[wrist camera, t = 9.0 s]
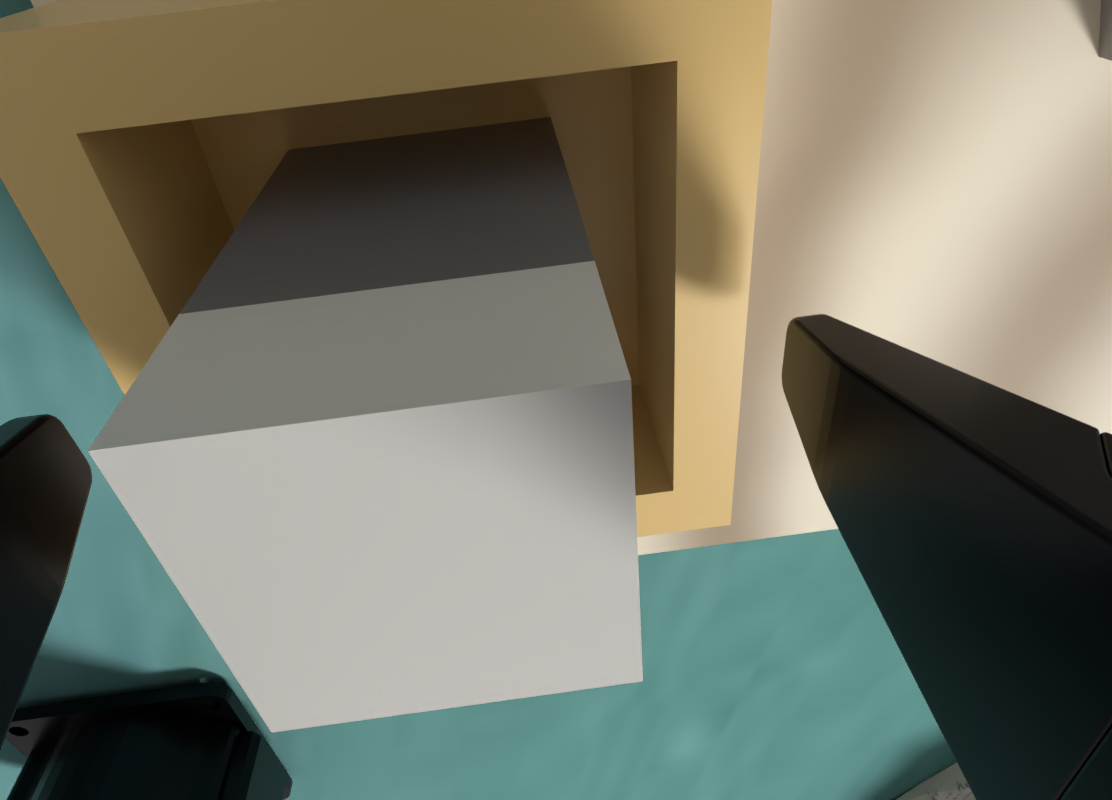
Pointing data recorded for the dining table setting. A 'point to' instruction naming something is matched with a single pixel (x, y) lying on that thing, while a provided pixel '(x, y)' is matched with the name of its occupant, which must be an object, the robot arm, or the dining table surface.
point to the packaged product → (942, 787)
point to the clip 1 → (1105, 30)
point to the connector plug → (396, 436)
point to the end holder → (402, 109)
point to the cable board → (925, 215)
